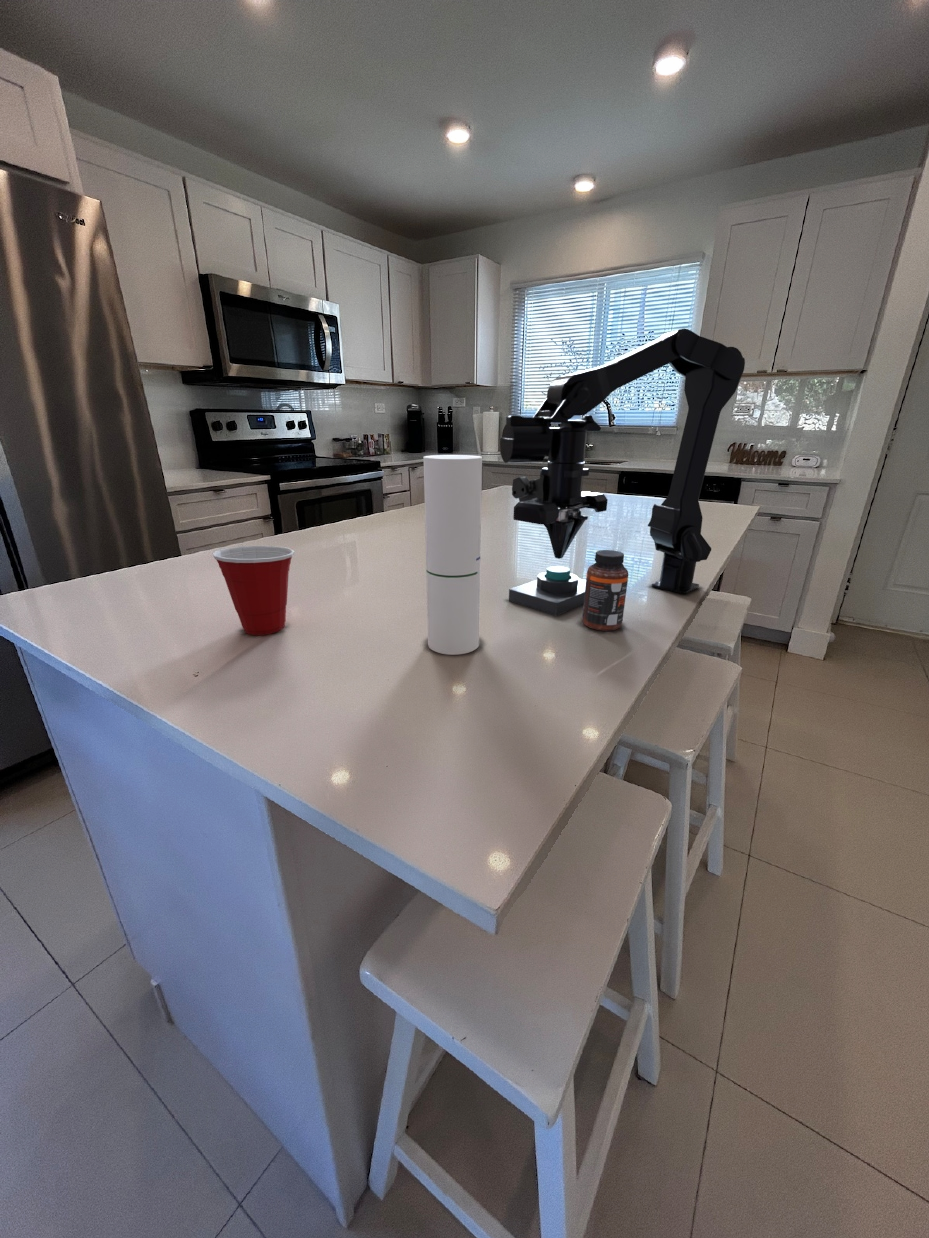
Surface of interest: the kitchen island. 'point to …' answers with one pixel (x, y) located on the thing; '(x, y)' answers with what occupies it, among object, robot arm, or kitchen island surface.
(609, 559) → the supplement bottle
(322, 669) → the kitchen island surface
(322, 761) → the kitchen island surface
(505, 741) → the kitchen island surface
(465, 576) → the cylindrical container
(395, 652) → the kitchen island surface
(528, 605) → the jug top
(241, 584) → the plastic cup
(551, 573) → the lid button
